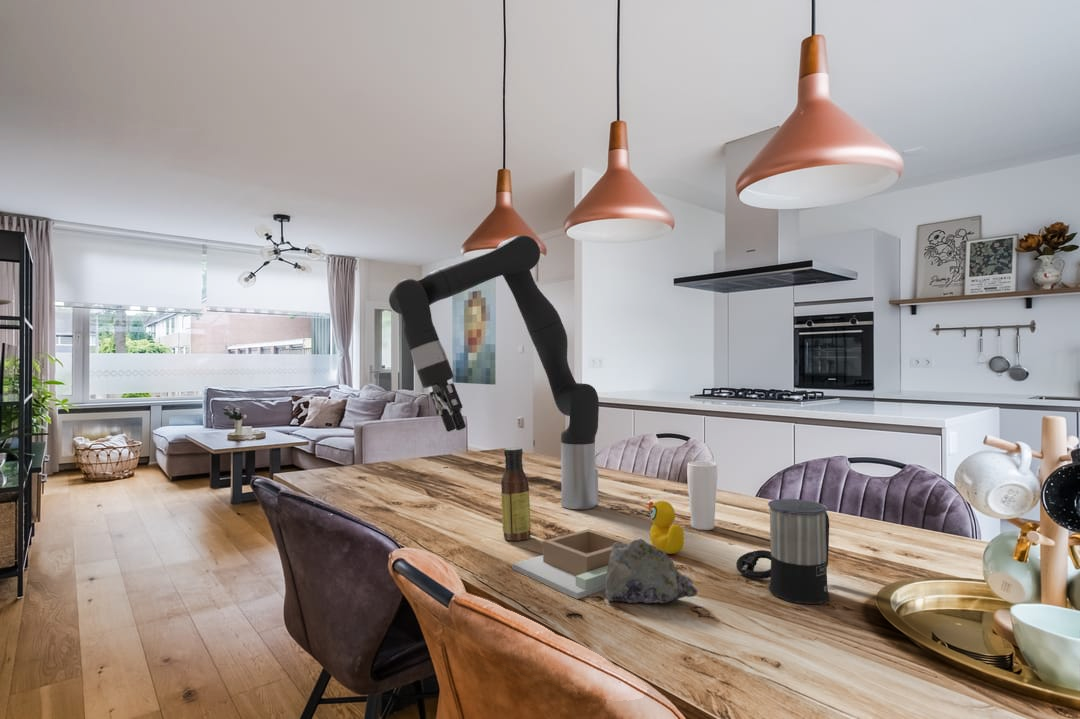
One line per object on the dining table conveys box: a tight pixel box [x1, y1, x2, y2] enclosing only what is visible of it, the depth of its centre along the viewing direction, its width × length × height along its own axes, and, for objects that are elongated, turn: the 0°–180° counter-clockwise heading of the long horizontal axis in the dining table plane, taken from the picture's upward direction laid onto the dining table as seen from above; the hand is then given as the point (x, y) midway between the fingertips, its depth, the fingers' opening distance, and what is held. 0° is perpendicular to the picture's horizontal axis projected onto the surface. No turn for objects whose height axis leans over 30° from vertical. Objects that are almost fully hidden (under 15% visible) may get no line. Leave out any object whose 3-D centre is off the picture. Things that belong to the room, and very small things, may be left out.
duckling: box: [648, 500, 685, 555], centre depth 116 cm, size 11×5×10 cm, turn 19°
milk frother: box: [736, 498, 830, 605], centre depth 98 cm, size 14×16×15 cm
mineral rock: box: [605, 538, 699, 604], centre depth 91 cm, size 13×11×10 cm
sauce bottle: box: [500, 446, 532, 542], centre depth 126 cm, size 6×6×20 cm
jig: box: [511, 528, 632, 600], centre depth 107 cm, size 22×18×5 cm
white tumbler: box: [686, 460, 718, 531], centre depth 133 cm, size 7×7×15 cm
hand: (456, 429), depth 131 cm, fingers open, 8 cm apart
